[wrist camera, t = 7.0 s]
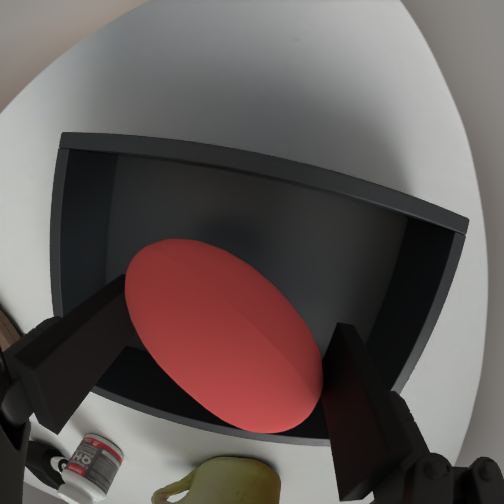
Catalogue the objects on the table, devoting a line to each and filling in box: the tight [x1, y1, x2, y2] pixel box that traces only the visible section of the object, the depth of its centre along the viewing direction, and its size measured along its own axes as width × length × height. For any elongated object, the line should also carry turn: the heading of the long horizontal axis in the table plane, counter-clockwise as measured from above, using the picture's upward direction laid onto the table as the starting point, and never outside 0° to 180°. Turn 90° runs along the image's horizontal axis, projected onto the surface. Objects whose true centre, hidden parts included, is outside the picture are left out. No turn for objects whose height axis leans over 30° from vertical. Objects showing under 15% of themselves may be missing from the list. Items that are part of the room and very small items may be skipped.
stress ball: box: [125, 239, 324, 433], centre depth 10 cm, size 5×9×6 cm
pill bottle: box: [57, 434, 123, 504], centre depth 19 cm, size 5×5×10 cm
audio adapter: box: [25, 440, 69, 490], centre depth 25 cm, size 11×5×25 cm
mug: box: [151, 457, 281, 504], centre depth 19 cm, size 12×10×10 cm
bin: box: [50, 132, 469, 446], centre depth 15 cm, size 15×20×6 cm
